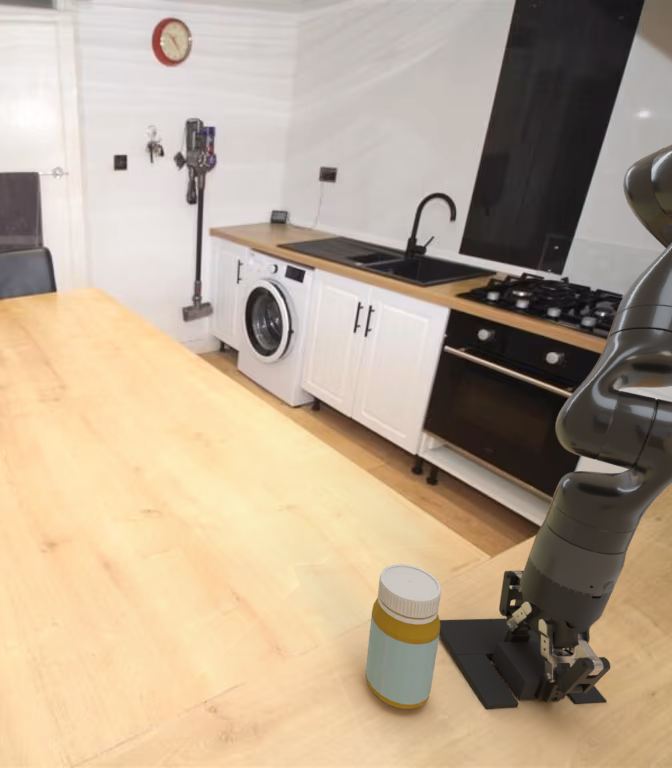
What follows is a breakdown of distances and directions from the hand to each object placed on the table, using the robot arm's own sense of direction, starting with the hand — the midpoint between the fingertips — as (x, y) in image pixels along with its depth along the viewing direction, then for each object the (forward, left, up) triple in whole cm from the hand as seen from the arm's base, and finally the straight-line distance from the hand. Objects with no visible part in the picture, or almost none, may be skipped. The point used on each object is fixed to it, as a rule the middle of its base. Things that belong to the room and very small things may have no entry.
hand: (527, 675), depth 64 cm
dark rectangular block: (0, 0, -1) cm, 1 cm away
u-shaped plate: (0, -3, -1) cm, 3 cm away
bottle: (+16, 0, -1) cm, 16 cm away
